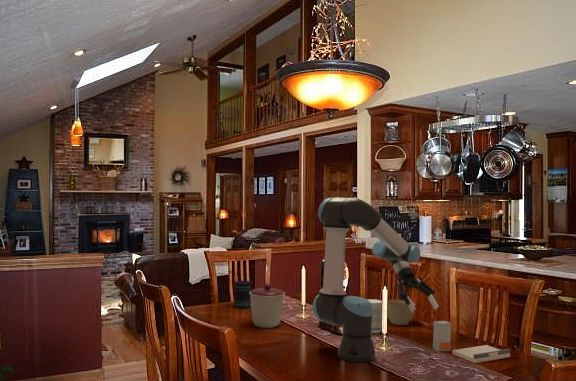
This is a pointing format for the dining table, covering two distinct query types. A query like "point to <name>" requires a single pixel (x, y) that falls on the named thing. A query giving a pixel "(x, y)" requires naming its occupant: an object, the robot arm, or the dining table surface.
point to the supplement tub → (376, 315)
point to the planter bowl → (399, 312)
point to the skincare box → (442, 336)
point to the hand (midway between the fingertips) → (425, 309)
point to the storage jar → (242, 295)
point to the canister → (266, 306)
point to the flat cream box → (481, 353)
